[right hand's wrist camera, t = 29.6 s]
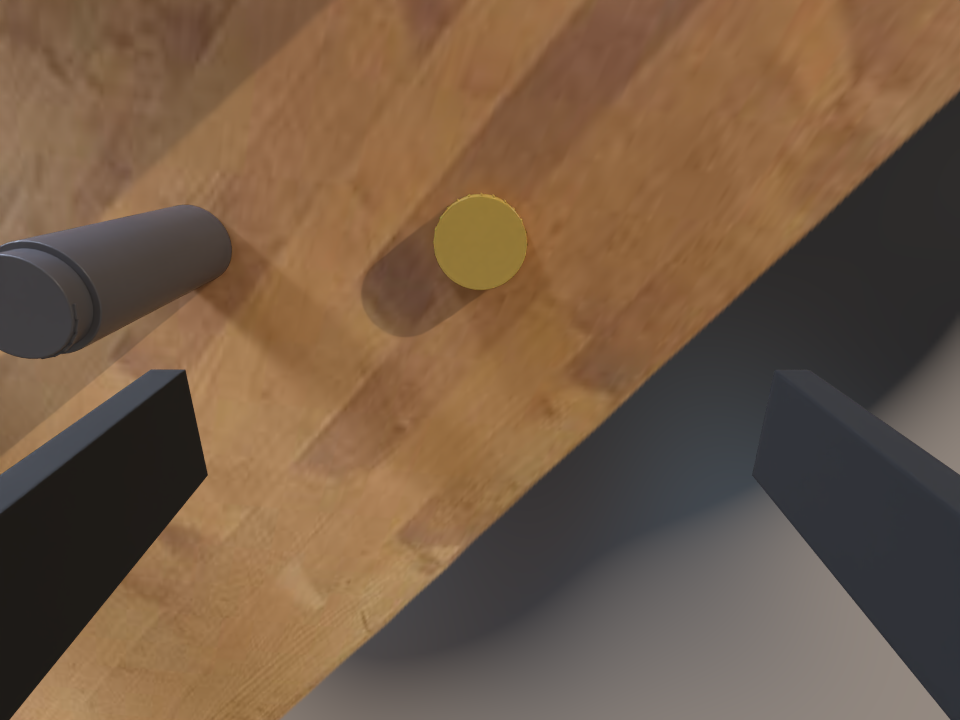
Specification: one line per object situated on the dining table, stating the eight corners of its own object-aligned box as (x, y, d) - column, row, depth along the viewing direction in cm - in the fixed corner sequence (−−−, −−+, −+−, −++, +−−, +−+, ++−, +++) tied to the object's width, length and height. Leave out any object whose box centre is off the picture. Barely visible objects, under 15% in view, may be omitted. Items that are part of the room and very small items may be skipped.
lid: (541, 216, 36) (544, 219, 35) (502, 298, 38) (503, 305, 37) (456, 177, 35) (454, 178, 34) (421, 263, 37) (418, 268, 36)
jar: (159, 278, 38) (-31, 361, 24) (148, 201, 36) (-65, 241, 22) (235, 284, 38) (90, 369, 24) (228, 207, 36) (67, 251, 22)
